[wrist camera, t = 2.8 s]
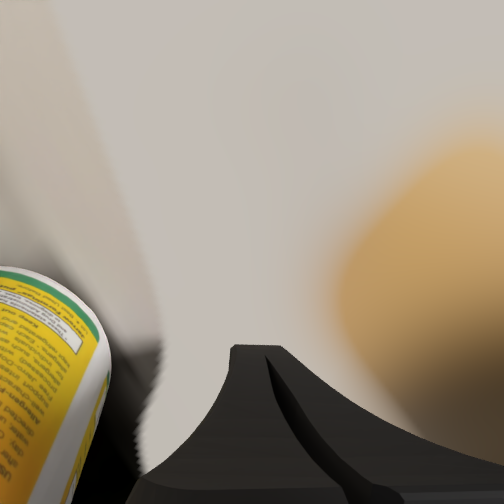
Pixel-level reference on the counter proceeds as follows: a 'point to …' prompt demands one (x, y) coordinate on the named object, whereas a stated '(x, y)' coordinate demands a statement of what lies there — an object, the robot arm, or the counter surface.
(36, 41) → the counter surface
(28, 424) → the supplement bottle
